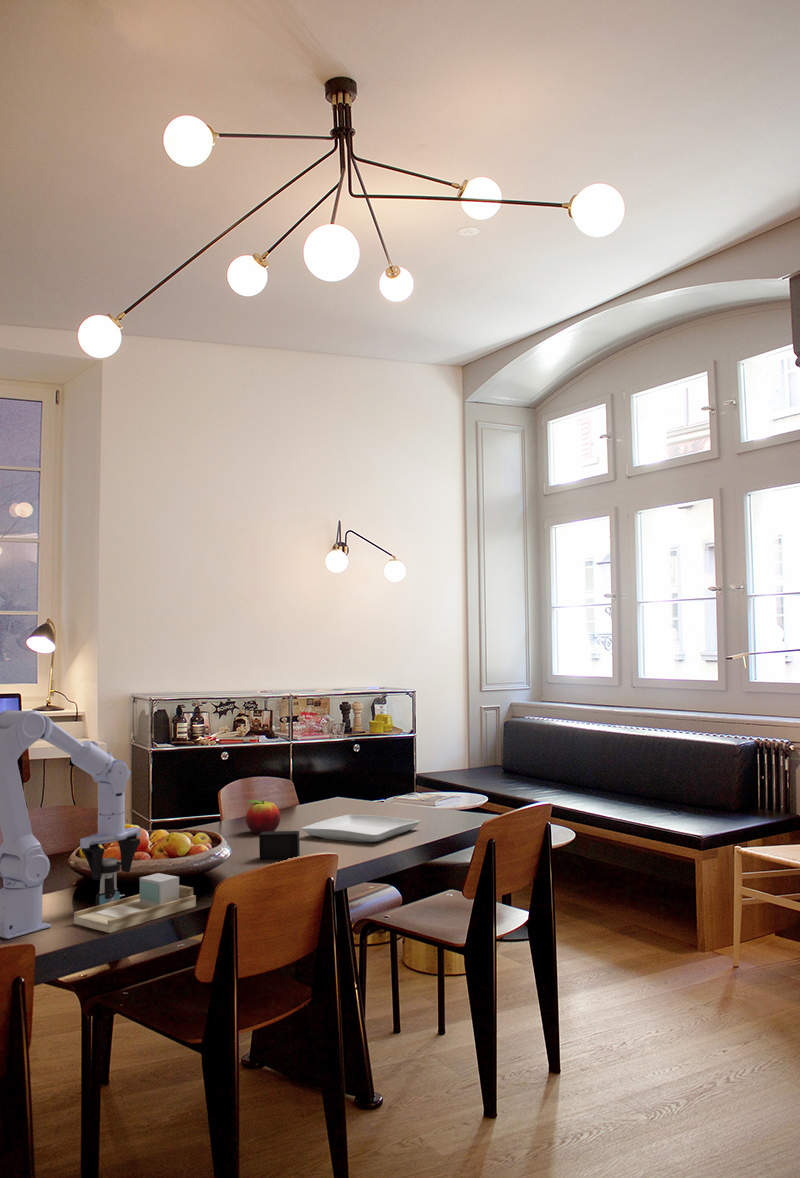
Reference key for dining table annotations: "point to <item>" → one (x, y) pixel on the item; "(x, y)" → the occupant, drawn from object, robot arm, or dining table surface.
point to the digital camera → (279, 845)
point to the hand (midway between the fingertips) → (111, 875)
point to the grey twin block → (159, 889)
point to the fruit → (262, 817)
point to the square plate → (360, 827)
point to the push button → (108, 882)
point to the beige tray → (131, 911)
